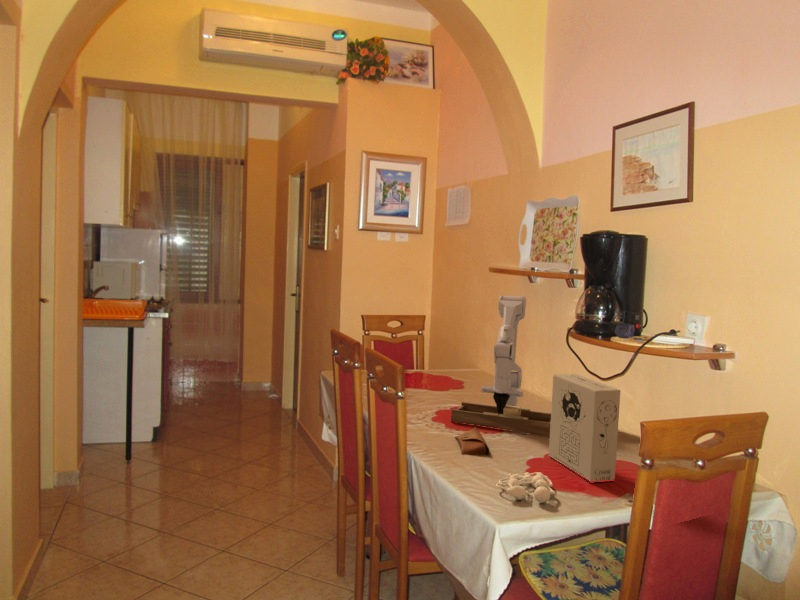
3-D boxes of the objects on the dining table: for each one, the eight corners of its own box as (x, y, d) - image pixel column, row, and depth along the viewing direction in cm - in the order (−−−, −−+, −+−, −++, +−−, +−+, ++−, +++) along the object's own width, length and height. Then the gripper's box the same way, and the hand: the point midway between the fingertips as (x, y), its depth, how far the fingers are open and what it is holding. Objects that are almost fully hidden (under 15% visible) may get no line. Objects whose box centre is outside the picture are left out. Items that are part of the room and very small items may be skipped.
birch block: (506, 416, 217) (506, 405, 217) (520, 418, 215) (520, 407, 215) (502, 419, 213) (503, 408, 212) (517, 421, 211) (517, 410, 211)
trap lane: (462, 413, 228) (462, 400, 228) (555, 426, 215) (556, 412, 215) (450, 422, 216) (451, 408, 216) (548, 436, 203) (549, 421, 203)
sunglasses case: (452, 436, 200) (463, 419, 199) (470, 447, 200) (481, 430, 200) (461, 455, 182) (473, 436, 181) (481, 467, 182) (493, 448, 182)
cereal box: (615, 482, 164) (621, 390, 162) (590, 484, 162) (596, 390, 160) (570, 455, 185) (575, 373, 183) (548, 457, 183) (552, 374, 181)
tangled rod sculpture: (503, 477, 168) (503, 462, 168) (557, 480, 164) (557, 465, 164) (493, 502, 150) (492, 485, 150) (553, 506, 146) (553, 489, 145)
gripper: (479, 376, 214) (477, 414, 215) (520, 380, 208) (518, 420, 209) (484, 372, 220) (482, 410, 221) (525, 377, 215) (523, 415, 216)
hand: (500, 414), depth 216 cm, fingers closed
